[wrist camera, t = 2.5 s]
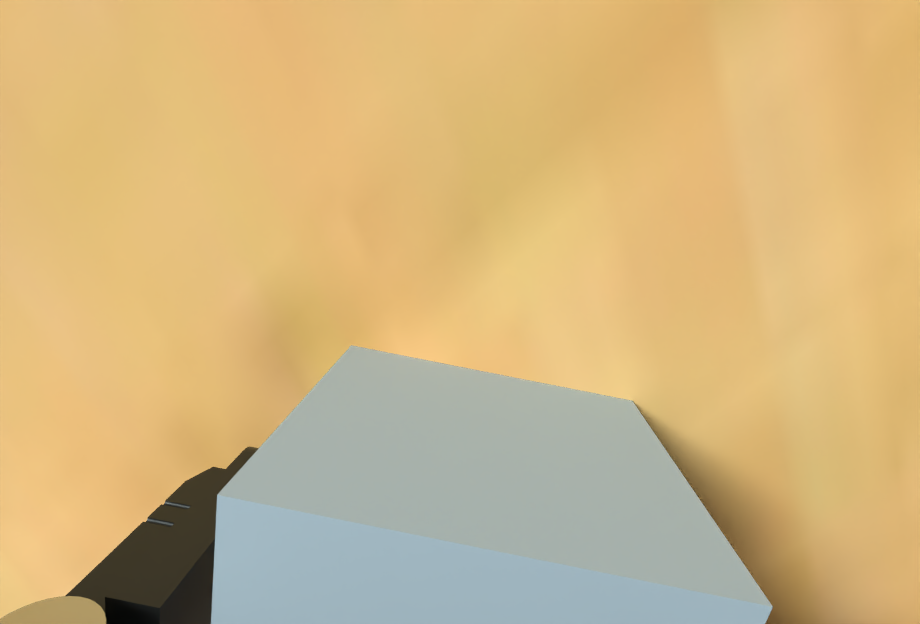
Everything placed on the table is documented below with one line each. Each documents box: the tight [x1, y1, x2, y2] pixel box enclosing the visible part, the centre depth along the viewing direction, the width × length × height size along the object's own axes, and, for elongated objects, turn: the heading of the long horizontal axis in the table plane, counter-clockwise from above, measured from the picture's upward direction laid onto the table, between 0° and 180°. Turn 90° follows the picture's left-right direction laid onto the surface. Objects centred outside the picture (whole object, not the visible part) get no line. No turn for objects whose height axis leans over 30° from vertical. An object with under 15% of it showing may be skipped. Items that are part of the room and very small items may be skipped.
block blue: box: [211, 345, 773, 624], centre depth 8 cm, size 6×6×5 cm
